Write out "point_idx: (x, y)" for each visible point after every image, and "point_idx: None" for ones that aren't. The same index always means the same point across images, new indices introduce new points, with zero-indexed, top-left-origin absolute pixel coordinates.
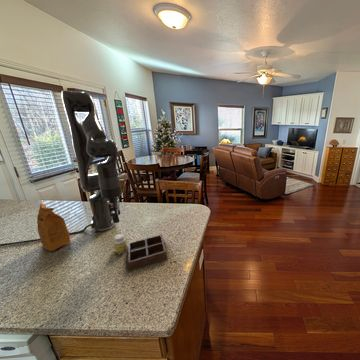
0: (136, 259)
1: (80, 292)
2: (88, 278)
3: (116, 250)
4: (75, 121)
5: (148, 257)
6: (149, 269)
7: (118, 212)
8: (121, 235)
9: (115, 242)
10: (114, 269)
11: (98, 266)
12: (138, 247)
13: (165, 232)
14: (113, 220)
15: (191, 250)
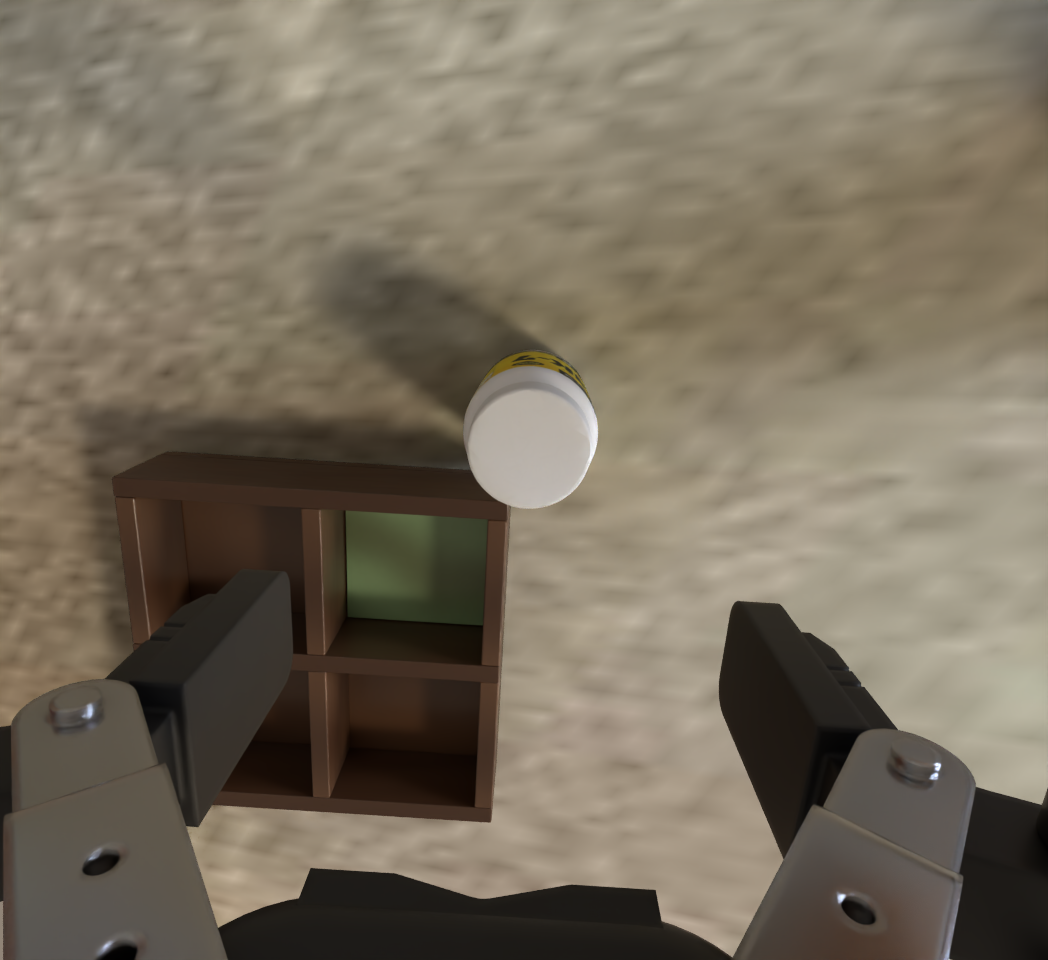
0: (136, 558)
1: (31, 40)
2: (210, 90)
3: (509, 358)
4: None
5: None
6: (114, 602)
7: (742, 706)
8: (541, 481)
9: (494, 384)
10: (244, 328)
11: (369, 173)
12: (478, 560)
13: (642, 809)
14: (210, 608)
15: (223, 915)
